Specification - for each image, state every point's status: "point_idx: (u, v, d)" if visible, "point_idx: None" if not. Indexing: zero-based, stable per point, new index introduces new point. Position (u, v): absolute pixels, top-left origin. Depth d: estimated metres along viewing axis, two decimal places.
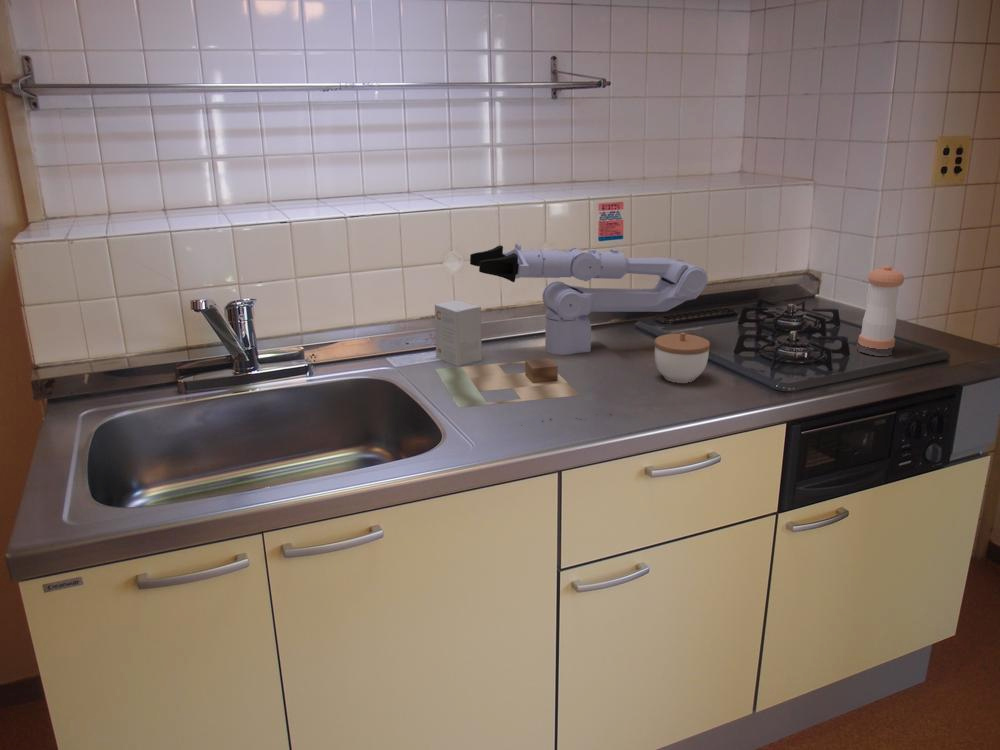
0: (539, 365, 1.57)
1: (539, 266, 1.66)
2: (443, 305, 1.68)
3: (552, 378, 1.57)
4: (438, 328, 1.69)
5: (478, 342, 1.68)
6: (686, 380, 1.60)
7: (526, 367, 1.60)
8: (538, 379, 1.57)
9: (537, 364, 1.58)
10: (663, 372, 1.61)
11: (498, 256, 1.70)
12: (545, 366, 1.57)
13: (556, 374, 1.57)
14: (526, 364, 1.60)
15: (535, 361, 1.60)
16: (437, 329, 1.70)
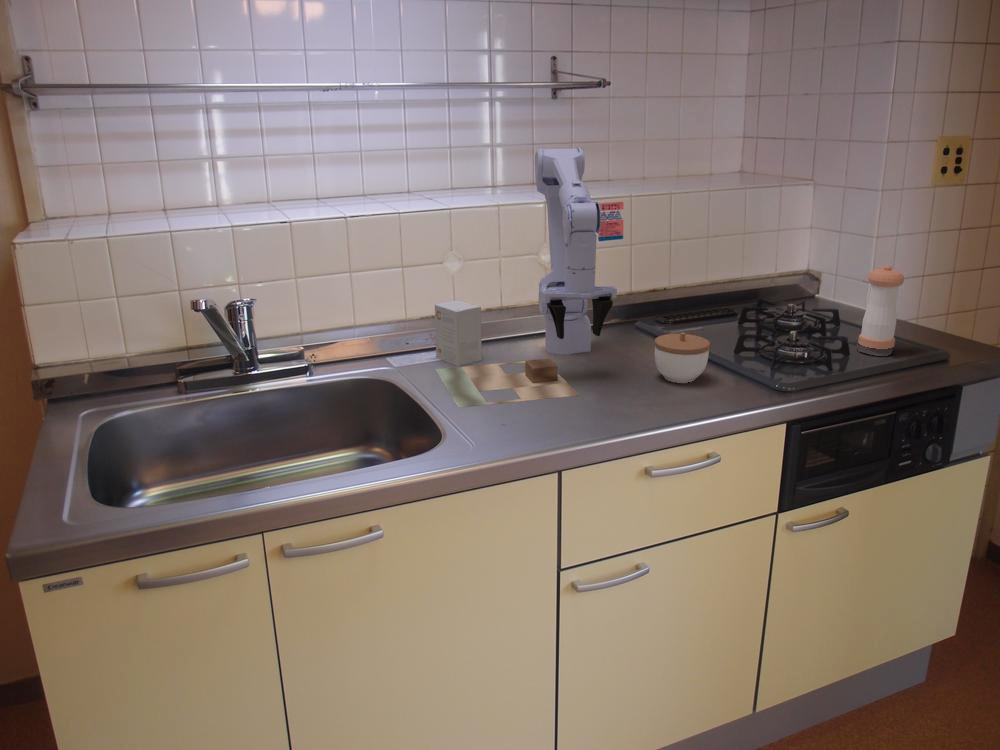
0: (539, 365, 1.57)
1: None
2: (443, 305, 1.68)
3: (552, 378, 1.57)
4: (438, 328, 1.69)
5: (477, 342, 1.68)
6: (686, 380, 1.60)
7: (526, 367, 1.60)
8: (538, 379, 1.57)
9: (537, 364, 1.58)
10: (663, 372, 1.61)
11: None
12: (545, 366, 1.57)
13: (556, 374, 1.57)
14: (526, 364, 1.60)
15: (535, 361, 1.60)
16: (437, 329, 1.70)
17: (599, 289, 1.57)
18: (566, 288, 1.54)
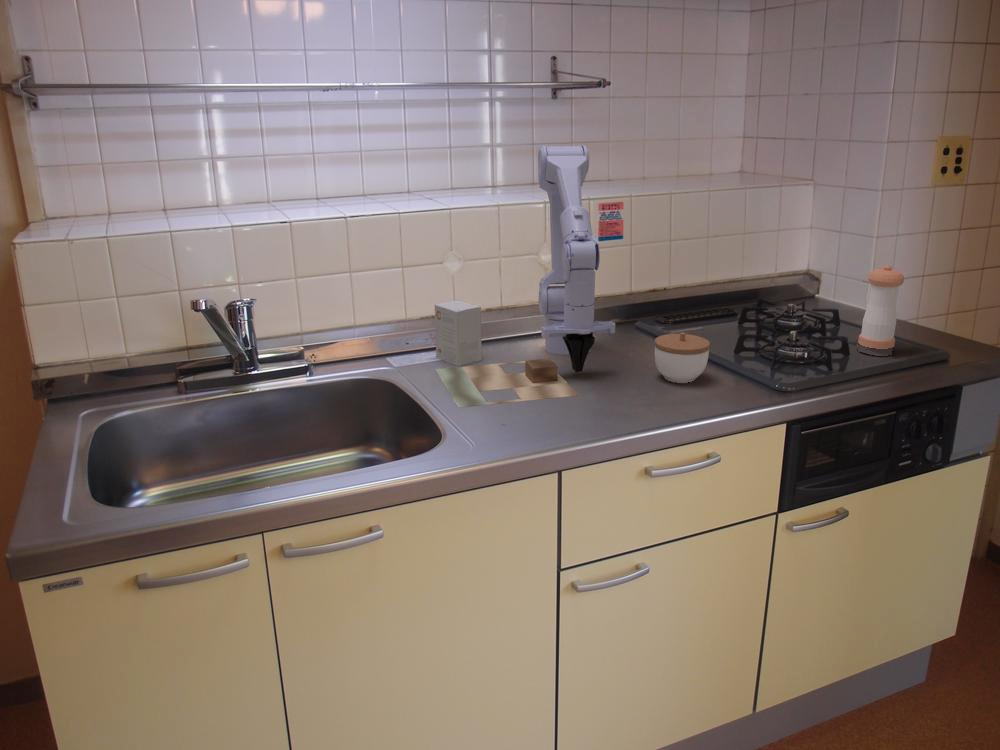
0: (539, 365, 1.57)
1: None
2: (443, 305, 1.68)
3: (552, 378, 1.57)
4: (438, 328, 1.69)
5: (477, 342, 1.68)
6: (686, 380, 1.60)
7: (526, 367, 1.60)
8: (538, 379, 1.57)
9: (537, 364, 1.58)
10: (663, 372, 1.61)
11: None
12: (545, 366, 1.57)
13: (556, 374, 1.57)
14: (526, 364, 1.60)
15: (535, 361, 1.60)
16: (437, 329, 1.70)
17: (598, 324, 1.59)
18: (565, 324, 1.57)
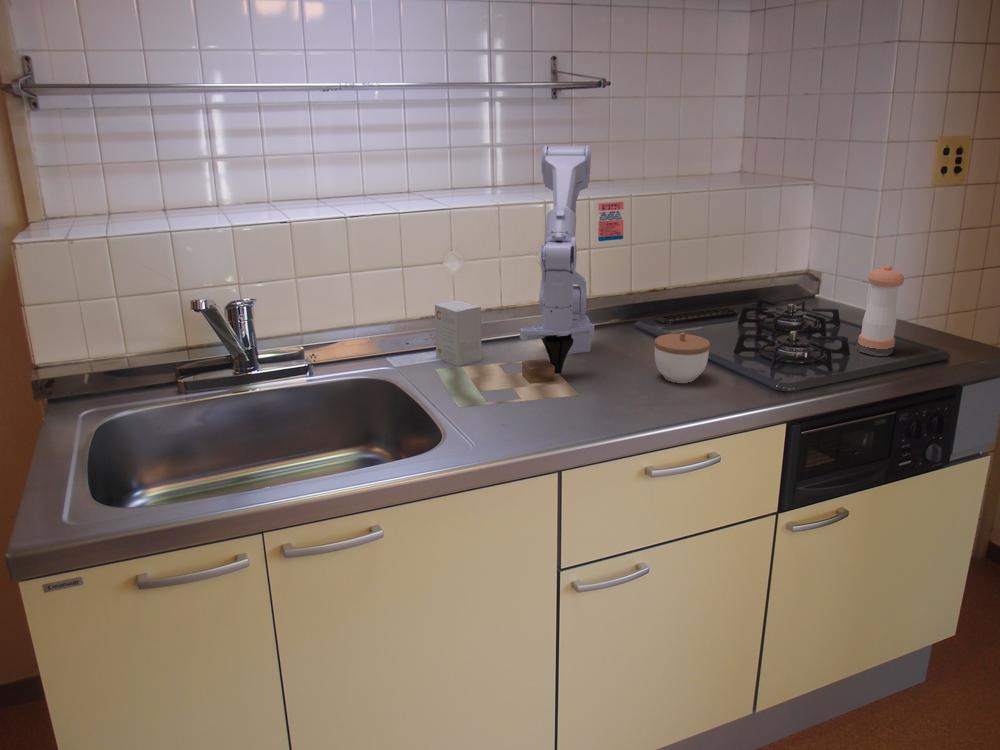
0: (536, 365, 1.57)
1: None
2: (443, 305, 1.68)
3: (549, 378, 1.57)
4: (438, 328, 1.69)
5: (478, 342, 1.68)
6: (686, 380, 1.60)
7: (523, 367, 1.60)
8: (535, 379, 1.56)
9: (534, 365, 1.58)
10: (663, 372, 1.61)
11: None
12: (542, 366, 1.56)
13: (553, 374, 1.57)
14: (523, 364, 1.60)
15: (532, 361, 1.59)
16: (437, 329, 1.70)
17: (577, 326, 1.58)
18: (544, 325, 1.56)
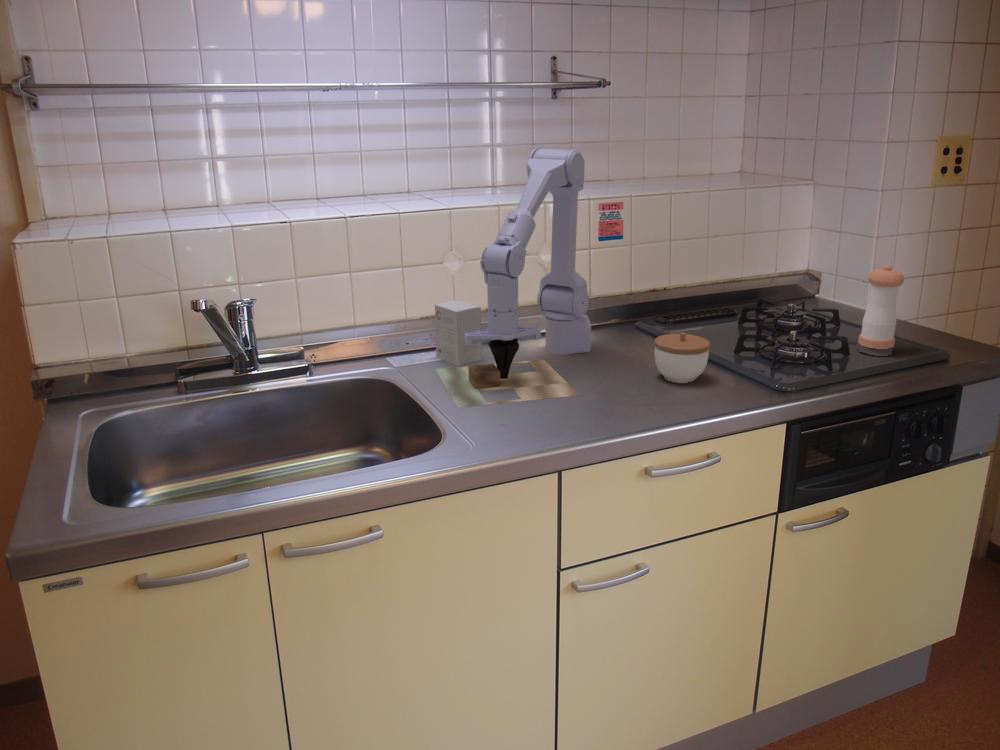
0: (481, 370, 1.55)
1: None
2: (443, 305, 1.68)
3: (495, 383, 1.55)
4: (438, 328, 1.69)
5: None
6: (686, 380, 1.60)
7: (469, 372, 1.57)
8: (481, 384, 1.54)
9: (479, 369, 1.55)
10: (663, 372, 1.61)
11: None
12: (487, 371, 1.54)
13: (499, 379, 1.54)
14: (469, 369, 1.57)
15: (478, 366, 1.57)
16: (437, 329, 1.70)
17: (523, 330, 1.55)
18: (489, 330, 1.53)
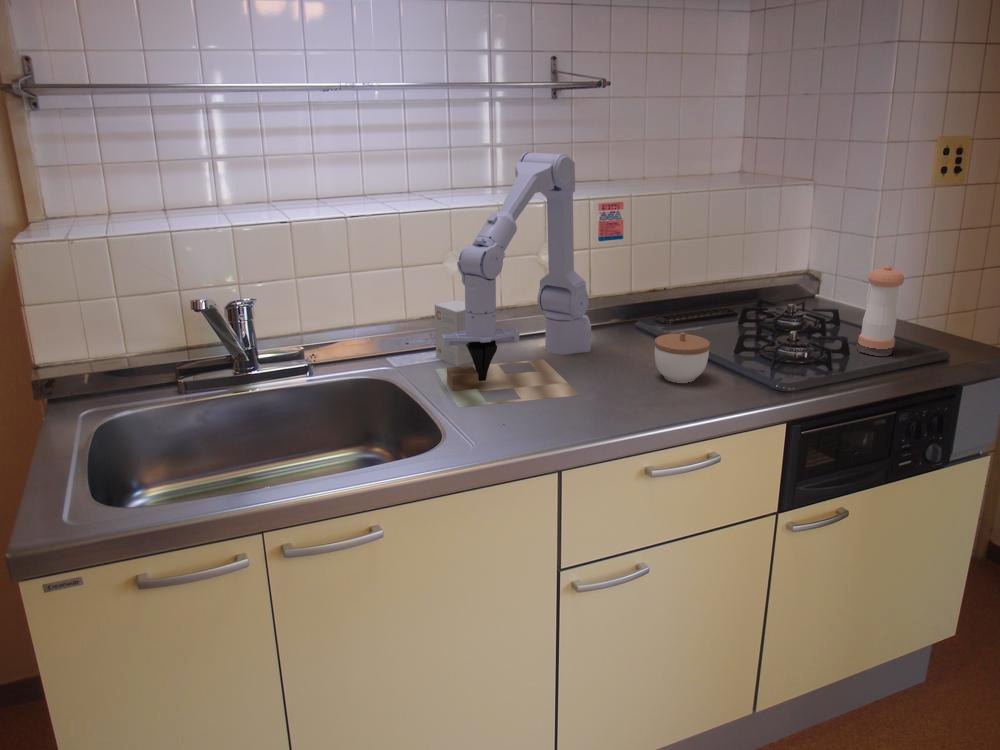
0: (459, 372, 1.54)
1: None
2: (443, 305, 1.68)
3: (473, 386, 1.54)
4: (438, 328, 1.69)
5: None
6: (686, 380, 1.60)
7: (447, 374, 1.56)
8: (458, 386, 1.53)
9: (457, 371, 1.54)
10: (663, 372, 1.61)
11: None
12: (465, 373, 1.53)
13: (477, 381, 1.53)
14: (447, 371, 1.56)
15: (456, 368, 1.56)
16: (437, 329, 1.70)
17: (501, 332, 1.54)
18: (466, 332, 1.52)
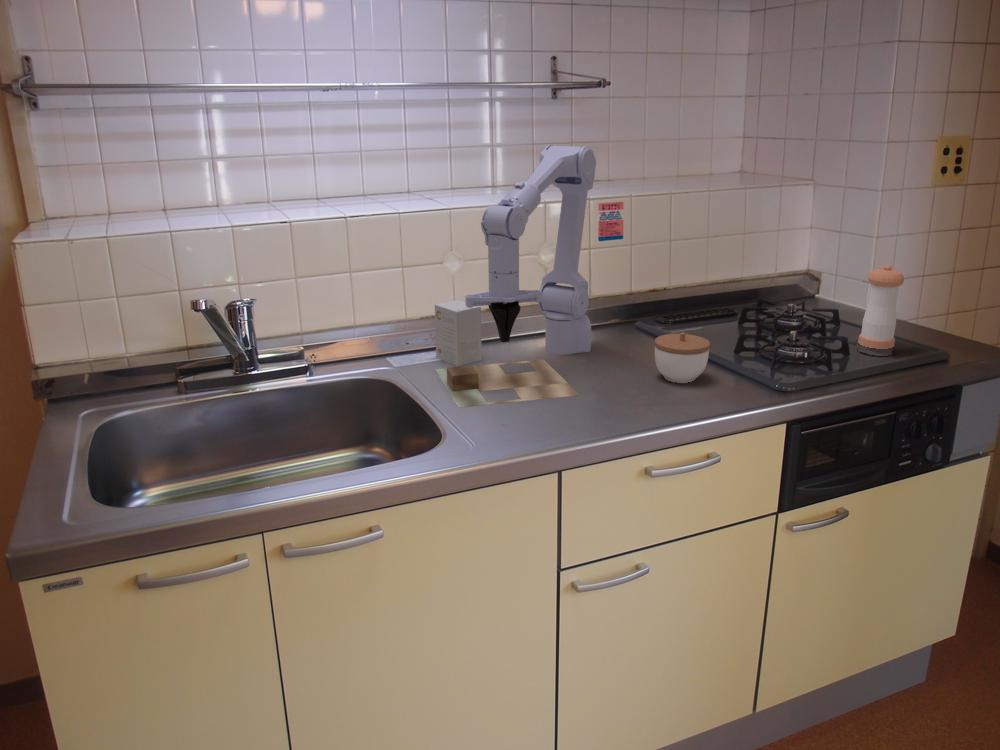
0: (459, 372, 1.54)
1: None
2: (443, 305, 1.68)
3: (473, 386, 1.54)
4: (438, 328, 1.69)
5: (478, 342, 1.68)
6: (686, 380, 1.60)
7: (447, 374, 1.56)
8: (458, 386, 1.53)
9: (457, 371, 1.54)
10: (663, 372, 1.61)
11: None
12: (465, 373, 1.53)
13: (477, 381, 1.53)
14: (447, 371, 1.56)
15: (456, 368, 1.56)
16: (437, 329, 1.70)
17: (524, 293, 1.54)
18: (490, 292, 1.52)
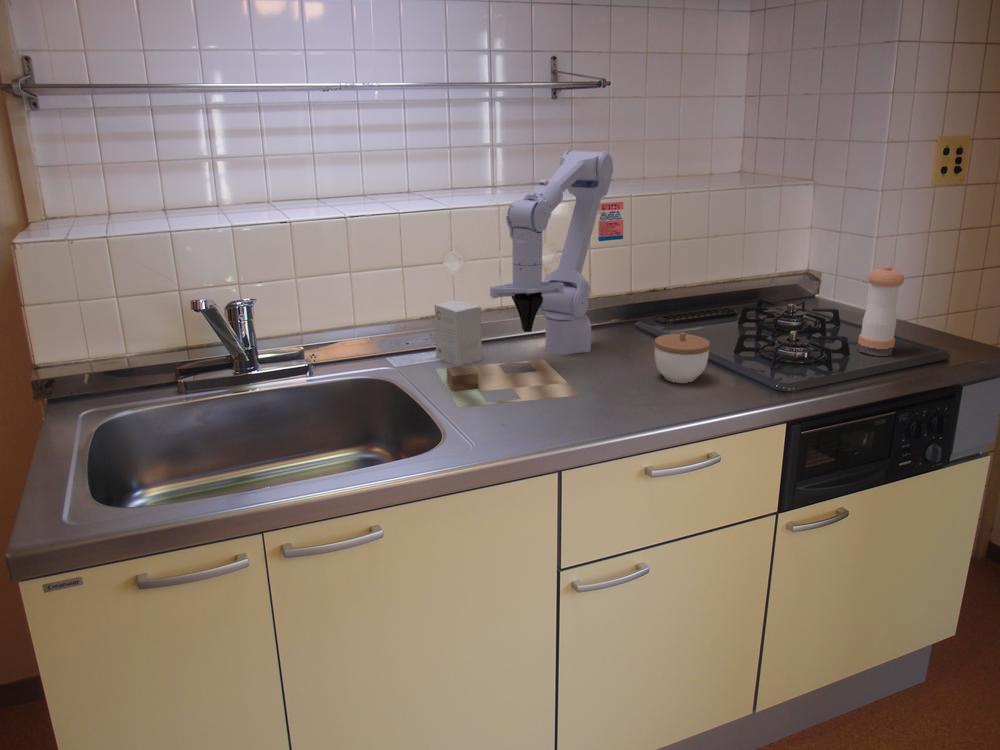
0: (459, 372, 1.54)
1: None
2: (443, 305, 1.68)
3: (473, 386, 1.54)
4: (438, 328, 1.69)
5: (477, 342, 1.68)
6: (686, 380, 1.60)
7: (447, 374, 1.56)
8: (458, 386, 1.53)
9: (457, 371, 1.54)
10: (663, 372, 1.61)
11: None
12: (465, 373, 1.53)
13: (477, 381, 1.53)
14: (447, 371, 1.56)
15: (456, 368, 1.56)
16: (437, 329, 1.70)
17: (546, 285, 1.60)
18: (513, 284, 1.58)
